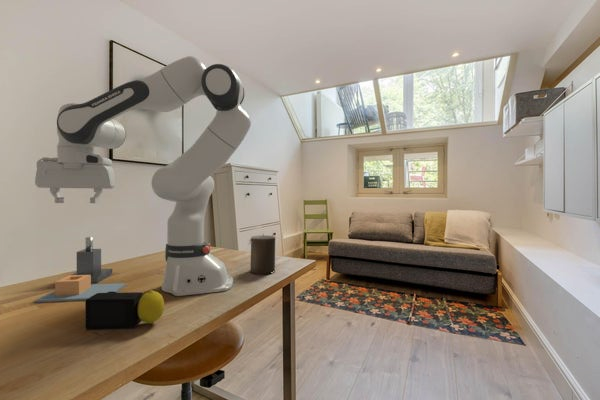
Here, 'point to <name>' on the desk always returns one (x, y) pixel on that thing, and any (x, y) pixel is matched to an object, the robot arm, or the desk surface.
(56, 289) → the collar
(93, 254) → the stand
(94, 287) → the mat
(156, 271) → the desk surface
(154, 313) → the lemon
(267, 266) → the pillar candle
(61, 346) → the desk surface
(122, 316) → the black rectangular box
